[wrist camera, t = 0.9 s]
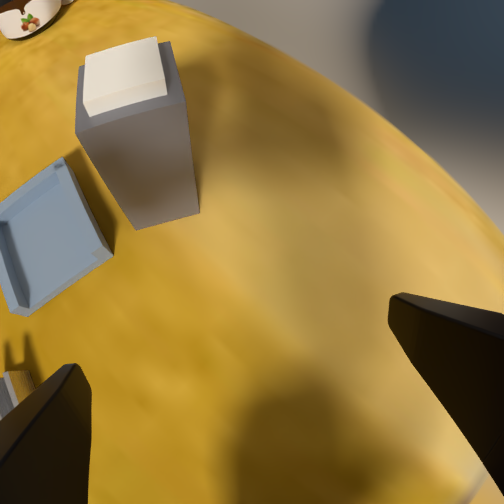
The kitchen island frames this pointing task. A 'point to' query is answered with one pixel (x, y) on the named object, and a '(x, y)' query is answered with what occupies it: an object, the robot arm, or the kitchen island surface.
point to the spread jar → (27, 17)
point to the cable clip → (14, 390)
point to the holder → (47, 239)
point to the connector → (138, 130)
